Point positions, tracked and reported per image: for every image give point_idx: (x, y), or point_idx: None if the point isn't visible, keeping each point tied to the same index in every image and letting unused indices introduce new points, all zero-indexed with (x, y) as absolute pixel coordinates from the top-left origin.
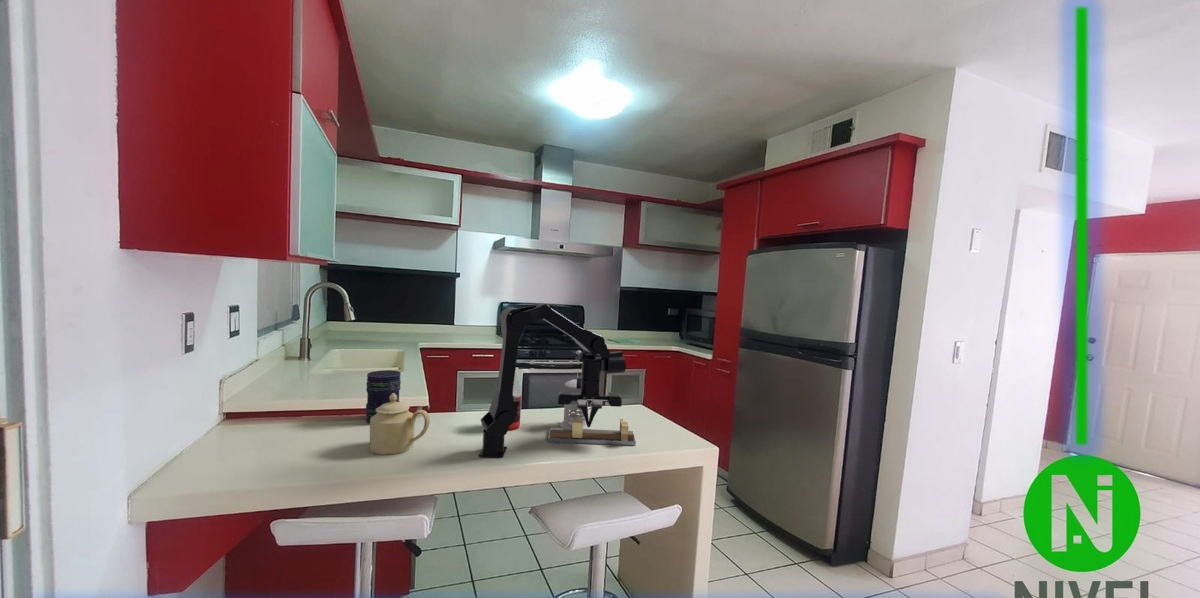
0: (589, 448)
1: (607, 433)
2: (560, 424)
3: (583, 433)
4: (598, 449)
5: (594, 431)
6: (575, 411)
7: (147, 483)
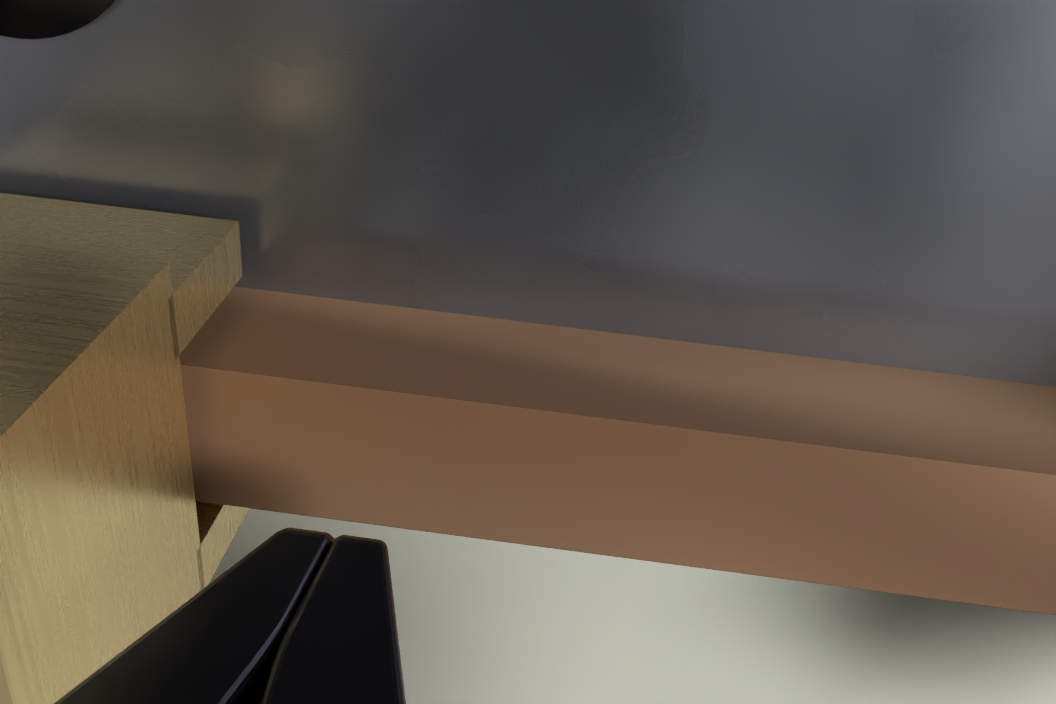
0: (455, 649)
1: (976, 582)
2: None
3: (248, 496)
4: (625, 696)
5: (586, 427)
6: None
7: None
